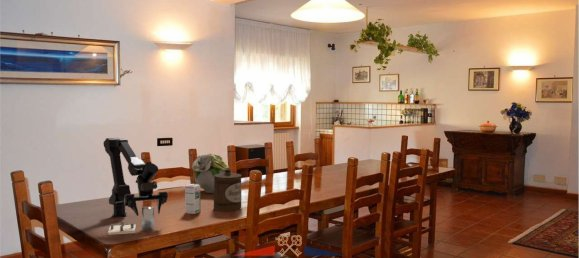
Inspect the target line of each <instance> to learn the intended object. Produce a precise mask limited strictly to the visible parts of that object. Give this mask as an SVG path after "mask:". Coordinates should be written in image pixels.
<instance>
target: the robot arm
mask: <svg viewBox="0 0 579 258" xmlns="http://www.w3.org/2000/svg"><path fill="white" fill-rule="evenodd" d="M103 147H104V150H105V153H106V154H107V155H108V157H109V161H110V166H111V173H112V179H113V183H114V184H113V186H112V189H111V195H110V197H109V198H108V204H109V205H112V209H113V211H112V212H113V213H112V218H118V217H127V212H126V207H127V208H130V209H131V210H132V211H133V212H134V214H135V216H136V217H139V211H138V206H137V202H141V201H142V202H143V201H144V202H145V201H156V202H157V213H158V215H160V212H161V208H162V205H164V204H165V203H167V202H168V201H167V200H168V198H169V195H168V192H167V191H158V192H157V193H158V194H154V190H156V189H157V188H158V183H157V181H156V180H155V181H154V180H153V178H154V177H155V176H156V174H157V173H158V172H159V167H158V165H156V164H155V163H152V161H146V162H144V161H143V159H140V158H138V157H137V155H136V153H135V151H134V150H133V149H132V147H131V146H130V143H129V140H128V139H127V138H119V137H109V138H108V137H107V138H105V140H103ZM121 154H122V155H123V157H124V160H125V161H126V162H127V170H128V173H129V174H130V175H131V176H132V177H135V176H137V177H136V180H135V183H136V185H137V191H138V195H137V196H135V194H134V193H132V191H131V186H130V185H129V184H127V183H126V182H125V177H124V176H125V175H124V171H123V165H122V160H121V159H122V158H121ZM151 180H153V181H151ZM153 194H154V195H153Z"/></svg>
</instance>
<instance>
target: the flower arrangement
mask: <svg viewBox="0 0 579 258" xmlns="http://www.w3.org/2000/svg"><path fill="white" fill-rule="evenodd" d="M226 168H230V167H229V165H227V163H226V162H225V161H224V160H223V157H222V156H221V155H217V154H213V153H205V154H202V155H198V156H197V157H196V159H195V160H194V161H193V163H192V166H191V169H192V170H193V171H194V181H195V184H199V185H200V189H202V190H204V192H205V193H207V194H214V175H216V174H220V173H225V172H226V171H225V169H226Z"/></svg>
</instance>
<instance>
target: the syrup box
mask: <svg viewBox="0 0 579 258" xmlns="http://www.w3.org/2000/svg"><path fill="white" fill-rule="evenodd" d="M184 199H185V200H184V205H185V210H184V211H185V214H190V215H196V214H198V213H201V209H202V208H201V207H202V205H201V188H200V185H199V184H196V183H190V184H187V185H185V186H184Z"/></svg>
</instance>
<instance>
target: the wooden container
mask: <svg viewBox="0 0 579 258" xmlns="http://www.w3.org/2000/svg"><path fill="white" fill-rule="evenodd" d="M231 170H232V169H231V168H230V167H228V168H226V169H225V171H226V172H225V173H220V174H216V175H214V193H213V209H214V210H215V211H218V210H219V212H235V211H238V209H239V210H240V208H241V209H242V174H240V173H234V172H233V173H232V171H231ZM234 210H235V211H234Z"/></svg>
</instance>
